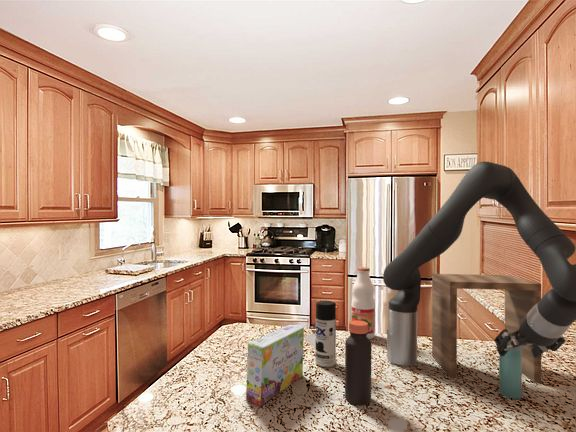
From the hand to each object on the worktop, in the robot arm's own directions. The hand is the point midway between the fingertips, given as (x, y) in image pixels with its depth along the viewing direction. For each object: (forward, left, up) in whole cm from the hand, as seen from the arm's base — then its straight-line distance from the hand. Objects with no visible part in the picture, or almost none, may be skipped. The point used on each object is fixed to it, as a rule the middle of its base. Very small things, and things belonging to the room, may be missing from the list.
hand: (517, 353), depth 92 cm
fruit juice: (-34, +47, -12) cm, 60 cm away
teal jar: (0, +3, -12) cm, 13 cm away
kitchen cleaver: (-54, +43, -13) cm, 71 cm away
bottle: (-42, -4, -12) cm, 44 cm away
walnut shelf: (0, +19, -12) cm, 23 cm away
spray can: (-50, +18, -12) cm, 55 cm away
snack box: (-64, 0, -13) cm, 65 cm away
